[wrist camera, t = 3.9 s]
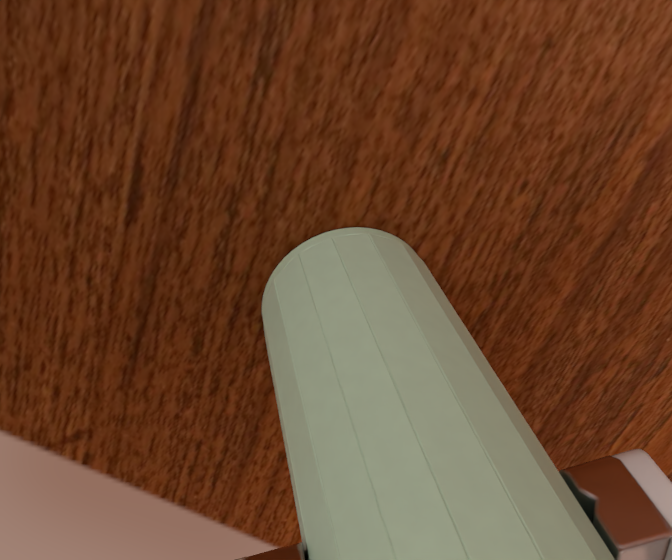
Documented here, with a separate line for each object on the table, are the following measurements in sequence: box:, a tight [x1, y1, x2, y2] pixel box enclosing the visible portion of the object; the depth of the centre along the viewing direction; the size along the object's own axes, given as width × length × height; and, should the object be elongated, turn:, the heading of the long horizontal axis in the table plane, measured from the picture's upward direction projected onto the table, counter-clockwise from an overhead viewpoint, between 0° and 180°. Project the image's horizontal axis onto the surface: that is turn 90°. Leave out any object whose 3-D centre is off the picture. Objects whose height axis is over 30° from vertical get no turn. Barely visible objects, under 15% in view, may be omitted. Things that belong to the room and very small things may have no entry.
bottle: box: [262, 227, 615, 560], centre depth 11 cm, size 5×5×13 cm
